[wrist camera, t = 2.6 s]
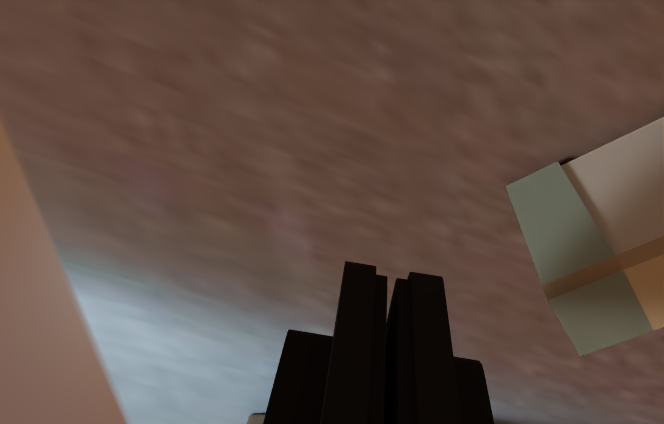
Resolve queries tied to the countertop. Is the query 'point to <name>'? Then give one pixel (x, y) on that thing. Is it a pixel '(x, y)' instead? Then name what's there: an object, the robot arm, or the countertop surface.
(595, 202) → the gate
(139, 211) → the countertop surface
